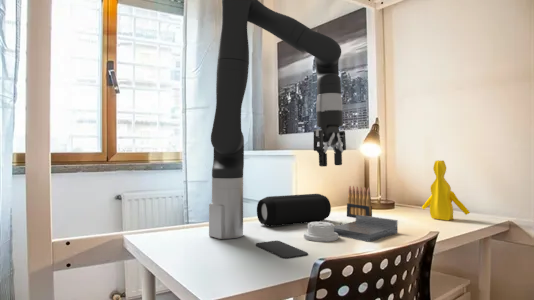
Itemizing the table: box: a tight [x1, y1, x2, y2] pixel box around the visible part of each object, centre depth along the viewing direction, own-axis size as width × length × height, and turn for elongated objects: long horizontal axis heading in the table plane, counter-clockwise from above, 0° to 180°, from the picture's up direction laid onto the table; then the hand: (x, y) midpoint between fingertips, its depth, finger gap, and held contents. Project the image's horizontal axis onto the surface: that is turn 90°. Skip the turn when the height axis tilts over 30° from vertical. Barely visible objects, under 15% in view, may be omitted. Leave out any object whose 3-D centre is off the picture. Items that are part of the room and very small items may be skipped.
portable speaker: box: [256, 193, 332, 228], centre depth 129 cm, size 26×10×10 cm, turn 118°
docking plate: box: [334, 215, 399, 243], centre depth 113 cm, size 16×14×4 cm
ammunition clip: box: [346, 185, 373, 219], centre depth 140 cm, size 11×2×12 cm, turn 38°
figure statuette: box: [421, 160, 471, 221], centre depth 137 cm, size 18×8×22 cm, turn 40°
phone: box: [255, 240, 309, 260], centre depth 93 cm, size 7×1×15 cm
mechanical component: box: [303, 221, 339, 242], centre depth 107 cm, size 10×4×10 cm
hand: (330, 165), depth 108 cm, fingers open, 8 cm apart
